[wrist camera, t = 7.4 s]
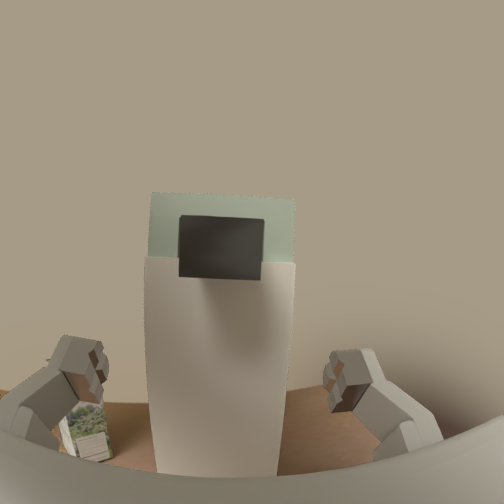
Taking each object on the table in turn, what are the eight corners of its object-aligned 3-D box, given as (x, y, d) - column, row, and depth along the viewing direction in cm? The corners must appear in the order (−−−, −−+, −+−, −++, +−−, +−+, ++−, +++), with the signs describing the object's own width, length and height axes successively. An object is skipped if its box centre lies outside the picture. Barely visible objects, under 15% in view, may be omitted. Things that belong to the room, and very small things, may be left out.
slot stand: (164, 507, 23) (149, 190, 23) (176, 443, 37) (174, 211, 37) (271, 509, 24) (298, 197, 24) (257, 445, 38) (270, 215, 38)
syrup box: (95, 438, 34) (81, 352, 34) (115, 459, 30) (99, 367, 30) (63, 447, 29) (43, 357, 29) (80, 470, 26) (56, 374, 26)
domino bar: (178, 277, 15) (181, 212, 14) (199, 254, 28) (200, 221, 28) (260, 280, 15) (264, 216, 15) (241, 255, 29) (243, 223, 29)
